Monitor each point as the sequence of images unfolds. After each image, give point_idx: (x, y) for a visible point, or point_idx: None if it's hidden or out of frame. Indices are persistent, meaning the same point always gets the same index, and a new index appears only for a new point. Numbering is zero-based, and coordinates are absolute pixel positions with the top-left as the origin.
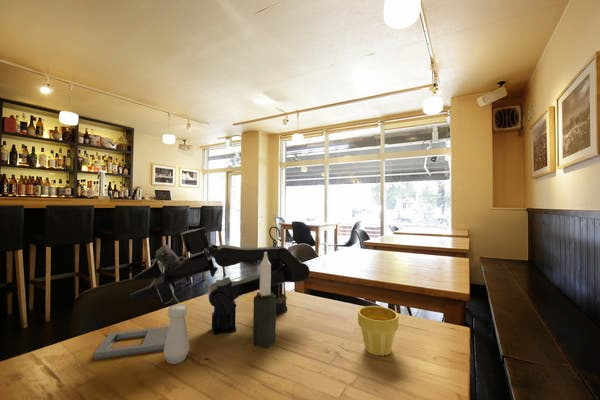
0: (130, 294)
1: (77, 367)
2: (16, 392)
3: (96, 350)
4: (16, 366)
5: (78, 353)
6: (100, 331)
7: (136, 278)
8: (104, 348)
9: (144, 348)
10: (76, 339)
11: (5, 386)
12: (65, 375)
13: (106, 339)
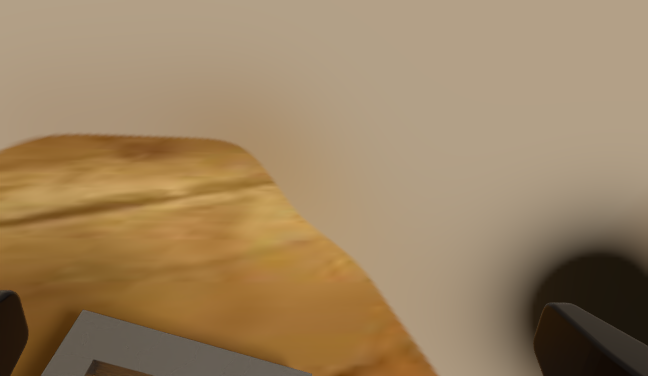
0: (8, 292)
1: (58, 273)
2: (24, 146)
3: (114, 319)
4: (220, 152)
5: (206, 276)
6: (404, 348)
7: (558, 352)
8: (110, 354)
9: None
10: (350, 271)
11: (97, 134)
12: (17, 240)
13: (231, 361)
